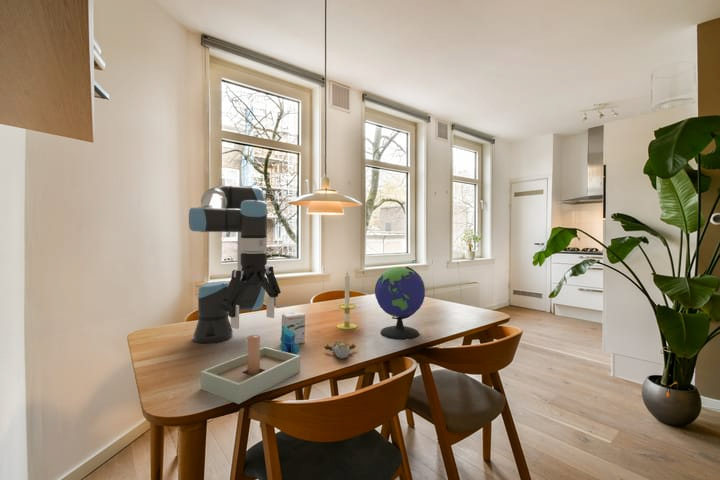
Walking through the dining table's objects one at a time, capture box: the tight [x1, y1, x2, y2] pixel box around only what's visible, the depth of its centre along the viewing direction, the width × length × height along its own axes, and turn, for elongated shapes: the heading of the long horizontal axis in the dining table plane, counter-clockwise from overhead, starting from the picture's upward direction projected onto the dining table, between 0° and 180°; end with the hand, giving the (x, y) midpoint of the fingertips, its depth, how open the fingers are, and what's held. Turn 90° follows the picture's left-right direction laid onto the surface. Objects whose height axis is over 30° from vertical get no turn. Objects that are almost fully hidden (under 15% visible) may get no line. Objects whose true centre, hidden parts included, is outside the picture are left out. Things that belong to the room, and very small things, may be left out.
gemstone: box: [280, 325, 300, 355], centre depth 115 cm, size 7×9×12 cm
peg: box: [246, 334, 261, 376], centre depth 99 cm, size 4×4×13 cm
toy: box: [324, 339, 357, 359], centre depth 121 cm, size 12×5×15 cm
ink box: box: [280, 311, 306, 345], centre depth 133 cm, size 9×5×12 cm, turn 123°
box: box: [200, 346, 301, 405], centre depth 99 cm, size 16×24×5 cm, turn 150°
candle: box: [336, 271, 358, 331], centre depth 156 cm, size 10×10×27 cm
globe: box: [374, 266, 426, 341], centre depth 146 cm, size 22×22×30 cm
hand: (253, 322), depth 99 cm, fingers open, 13 cm apart
